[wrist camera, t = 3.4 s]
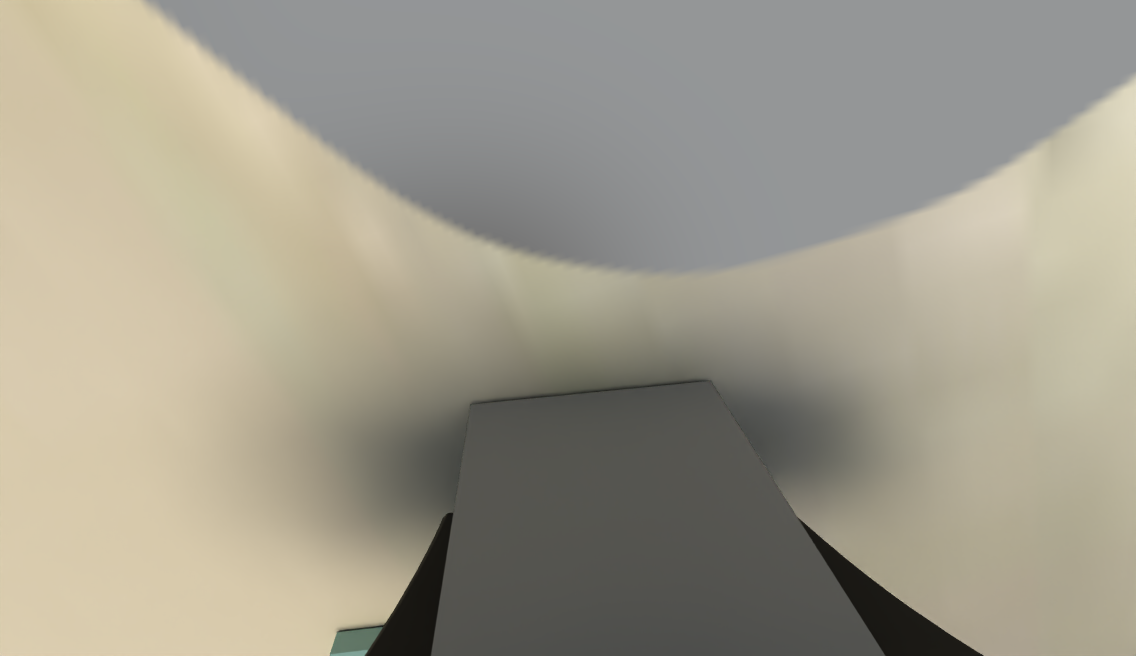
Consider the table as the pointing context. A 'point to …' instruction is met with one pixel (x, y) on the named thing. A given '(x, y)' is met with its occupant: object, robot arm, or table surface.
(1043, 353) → the table surface
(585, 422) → the dark grey block
